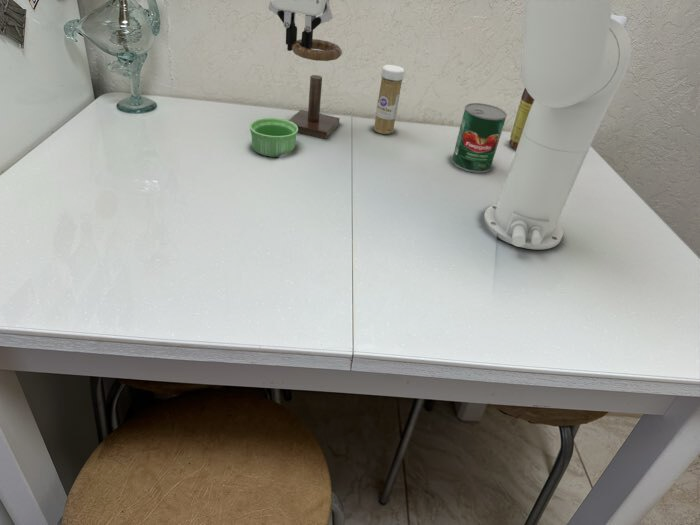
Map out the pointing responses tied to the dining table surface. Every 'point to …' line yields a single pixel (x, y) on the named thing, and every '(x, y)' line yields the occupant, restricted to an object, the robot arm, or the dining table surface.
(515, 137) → the sauce bottle
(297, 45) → the ring
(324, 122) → the stand
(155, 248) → the dining table surface
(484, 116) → the canned tomato
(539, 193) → the robot arm
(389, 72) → the sprinkles bottle
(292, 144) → the ramekin
